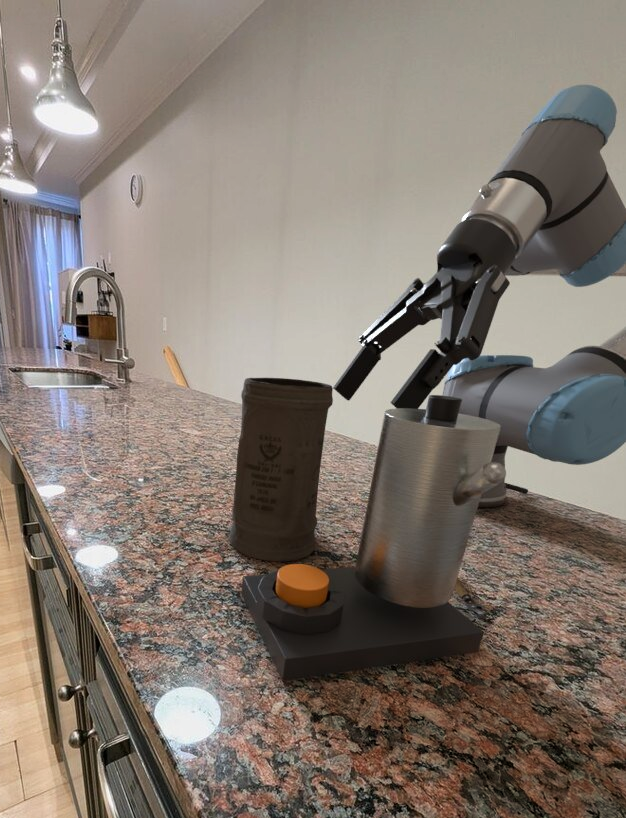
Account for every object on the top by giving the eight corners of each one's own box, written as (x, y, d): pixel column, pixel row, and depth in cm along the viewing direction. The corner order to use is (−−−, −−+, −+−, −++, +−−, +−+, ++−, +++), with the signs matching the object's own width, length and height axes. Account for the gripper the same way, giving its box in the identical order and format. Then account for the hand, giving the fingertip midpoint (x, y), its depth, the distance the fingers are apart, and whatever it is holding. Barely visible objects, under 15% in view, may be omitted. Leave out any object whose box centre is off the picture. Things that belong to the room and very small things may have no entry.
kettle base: (398, 580, 49) (405, 548, 48) (477, 652, 39) (490, 614, 37) (239, 595, 44) (242, 559, 43) (280, 682, 34) (286, 639, 32)
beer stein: (312, 572, 49) (339, 385, 43) (218, 557, 51) (231, 375, 45) (317, 527, 64) (338, 382, 57) (243, 516, 65) (256, 374, 59)
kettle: (398, 543, 49) (433, 387, 42) (500, 623, 36) (572, 416, 30) (326, 548, 46) (352, 383, 40) (407, 635, 34) (464, 413, 27)
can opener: (441, 577, 51) (444, 569, 51) (463, 580, 51) (465, 571, 50) (466, 625, 43) (469, 615, 42) (492, 628, 43) (495, 618, 42)
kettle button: (313, 578, 41) (316, 561, 40) (335, 605, 37) (338, 587, 37) (268, 582, 40) (270, 565, 39) (286, 610, 36) (288, 592, 35)
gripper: (400, 237, 59) (304, 373, 62) (575, 180, 37) (410, 396, 40) (434, 277, 62) (340, 404, 66) (614, 246, 40) (458, 442, 43)
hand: (367, 401), depth 53 cm, fingers open, 13 cm apart
